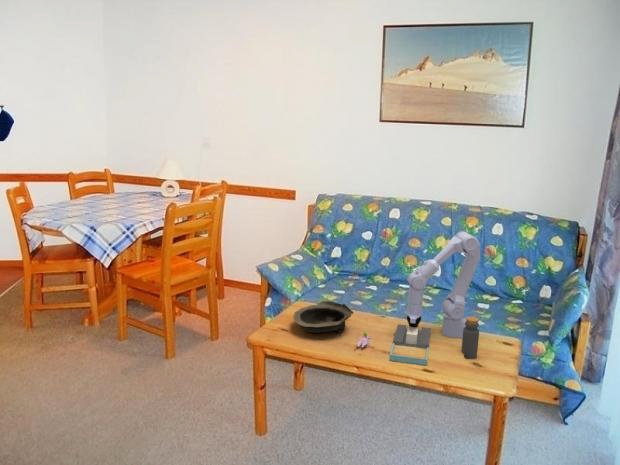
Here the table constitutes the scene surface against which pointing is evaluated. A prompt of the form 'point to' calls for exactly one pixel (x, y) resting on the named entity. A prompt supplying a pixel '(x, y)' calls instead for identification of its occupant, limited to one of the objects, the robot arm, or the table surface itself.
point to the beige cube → (411, 337)
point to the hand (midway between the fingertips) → (412, 333)
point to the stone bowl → (323, 317)
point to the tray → (408, 358)
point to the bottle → (470, 338)
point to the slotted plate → (421, 339)
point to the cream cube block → (413, 329)
